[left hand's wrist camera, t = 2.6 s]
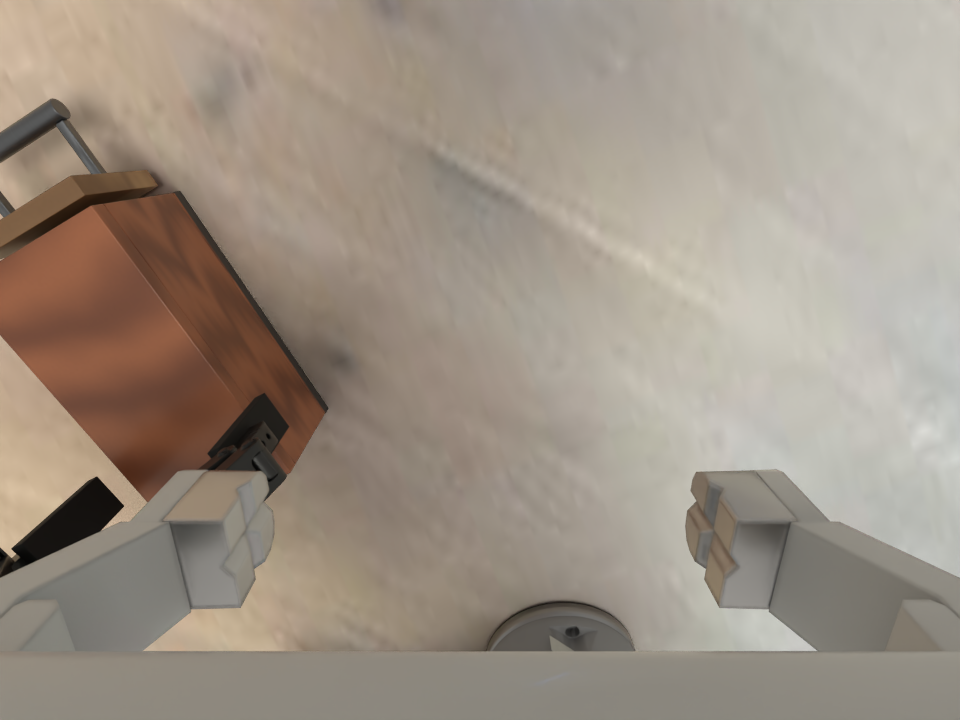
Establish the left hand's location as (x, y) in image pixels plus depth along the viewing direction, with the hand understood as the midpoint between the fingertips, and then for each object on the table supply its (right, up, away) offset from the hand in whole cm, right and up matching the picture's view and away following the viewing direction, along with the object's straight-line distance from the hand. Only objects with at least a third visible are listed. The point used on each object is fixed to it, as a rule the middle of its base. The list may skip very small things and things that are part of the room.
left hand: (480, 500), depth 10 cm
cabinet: (-22, +5, +33) cm, 39 cm away
